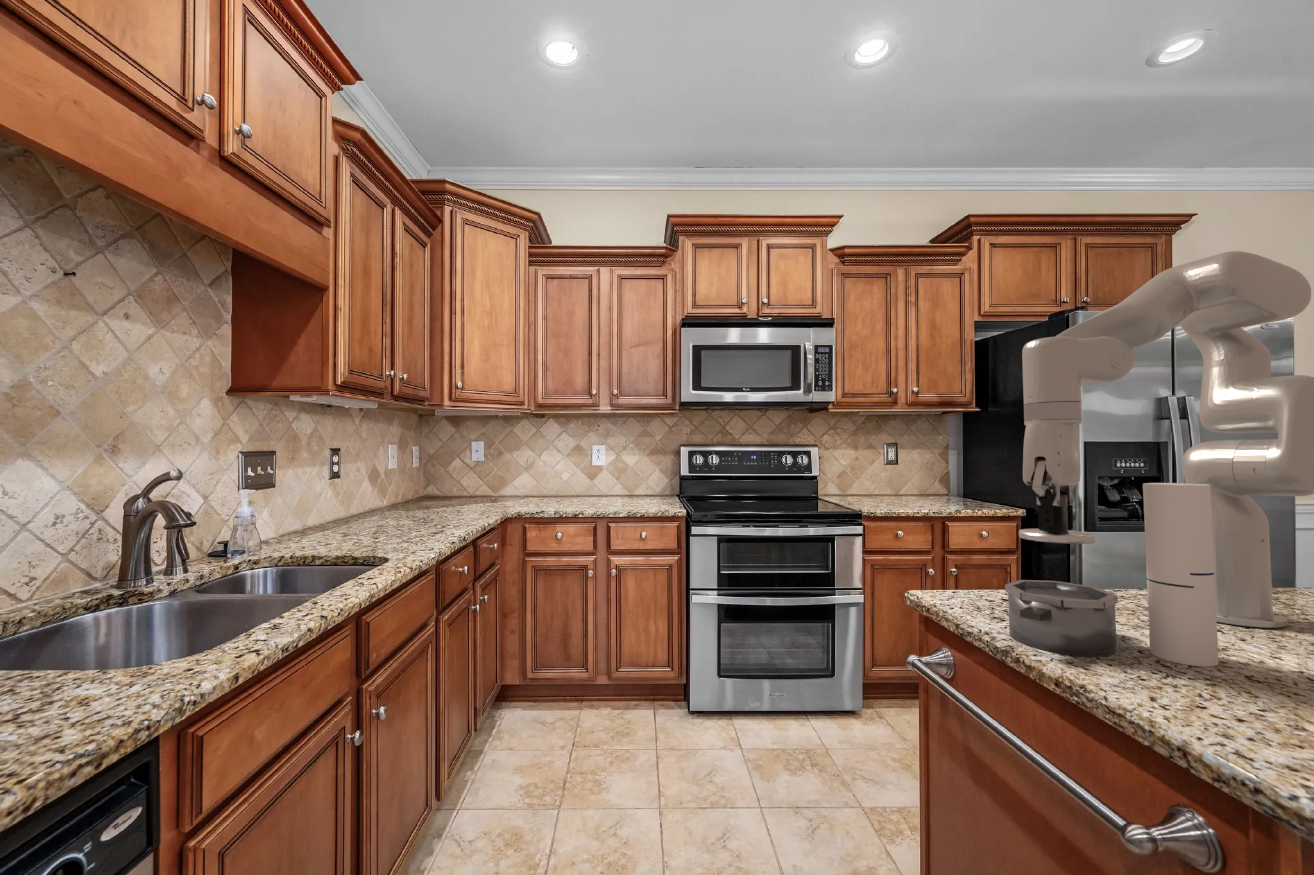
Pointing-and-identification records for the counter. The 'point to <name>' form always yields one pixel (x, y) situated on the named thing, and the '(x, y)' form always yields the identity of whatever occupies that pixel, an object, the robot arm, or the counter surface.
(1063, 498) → the lid
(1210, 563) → the cylindrical container
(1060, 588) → the pot
